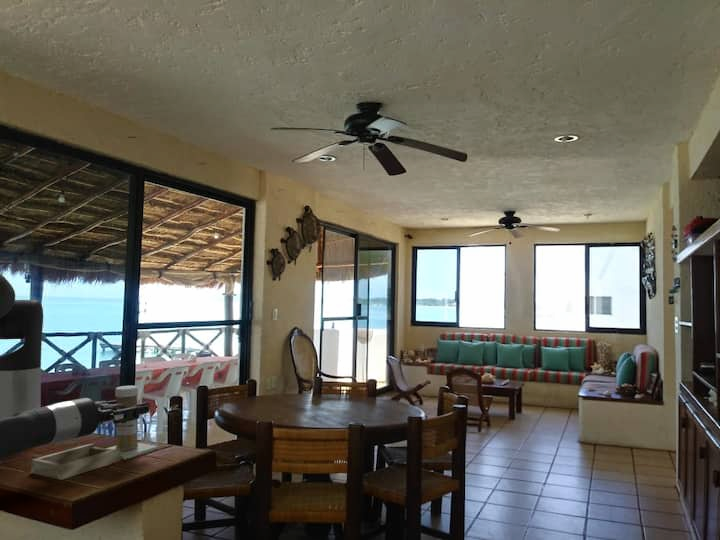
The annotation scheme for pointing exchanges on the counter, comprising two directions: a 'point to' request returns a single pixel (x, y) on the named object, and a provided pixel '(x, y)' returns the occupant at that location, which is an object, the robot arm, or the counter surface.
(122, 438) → the sprinkles bottle
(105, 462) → the rectangular wooden frame
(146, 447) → the pad
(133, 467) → the counter surface
